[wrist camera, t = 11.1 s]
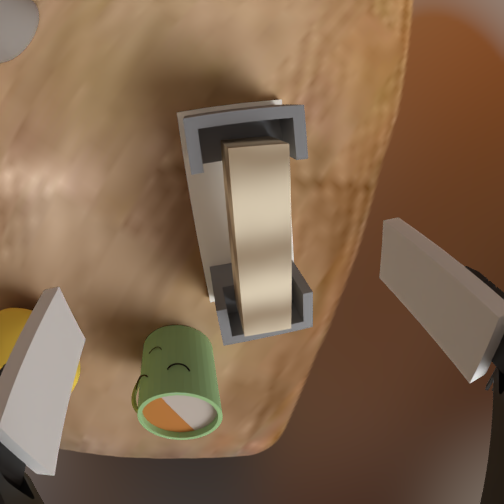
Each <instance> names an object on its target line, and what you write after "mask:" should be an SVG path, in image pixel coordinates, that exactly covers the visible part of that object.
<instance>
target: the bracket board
mask: <svg viewBox="0 0 504 504" xmlns="http://www.w3.org/2000/svg"><path fill="white" fill-rule="evenodd" d="M177 118H178V125H179V132H180V139H181V145H182V152H183V158H184V164H185V170H186V176H187V182H188V188H189V194H190V200H191V206H192V211H193V217H194V222H195V228H196V233H197V238H198V244H199V249H200V254H201V259H202V264H203V269H204V274H205V279H206V284H207V289H208V293H209V298H210V302H215V305H216V311H217V316H218V321H219V325H220V330H221V335H222V339H223V344H224V345H229V344H235V343H240V342H245V341H250V340H255V339H260V338H265V337H269V336H274V335H279V334H283V333H288V332H292V331H297V330H301V329H305V328H309V327H313V292H312V290H311V289H310V287H309V285H308V284H307V282H306V281H305V279H304V278H303V276H302V274H301V273H300V271H299V270H298V268H297V267H296V265H295V264H294V256H293V238H292V221H291V246H292V302H291V329H286V330H280V331H275V332H269V333H263V334H257V335H251V336H244V332H243V328H242V324H241V321H240V317H239V313H238V309H237V305H236V301H235V292H234V283H233V273H232V263H231V253H230V242H229V232H228V222H227V211H226V200H225V189H224V177H223V166H222V154H221V141H220V140H227V139H238V138H250V137H264V136H271V137H274V138H276V139H279V140H281V141H284V142H286V143H289V151H290V157H292V158H294V159H296V160H299V159H308V151H307V137H306V124H305V111H304V105H282V100H269V101H258V102H248V103H239V104H230V105H222V106H215V107H208V108H201V109H195V110H189V111H183V112H177Z"/></svg>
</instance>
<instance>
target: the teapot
mask: <svg viewBox="0 0 504 504" xmlns="http://www.w3.org/2000/svg"><path fill="white" fill-rule="evenodd" d="M31 313H32V310H28V309H23V308H7V309H3V310H1V311H0V369H1V368H2V367H3V365H4V364H6V362H7V360H8V358H9V356H10V354H11V352H12V350H13V348H14V346H15V343H16V341H17V339H18V337H19V335H20V333H21V332H22V330H23V328H24V326H25V324H26V322H27V320H28V318H29V316H30V314H31ZM79 375H80V361H79V364H78V367H77V371H76V375H75V378H74V382H73V386H72V390H71V392H72V391H73V389H74V387H75V385H76V384H77V382H78V378H79Z"/></svg>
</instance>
